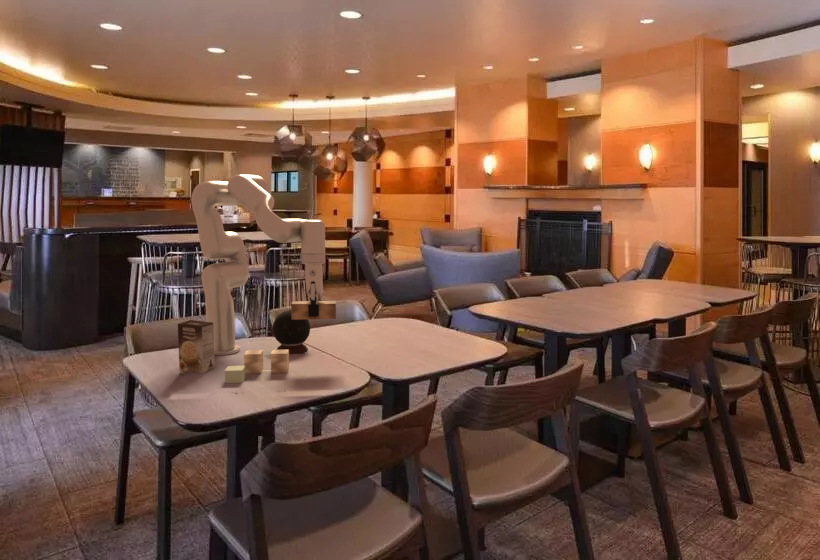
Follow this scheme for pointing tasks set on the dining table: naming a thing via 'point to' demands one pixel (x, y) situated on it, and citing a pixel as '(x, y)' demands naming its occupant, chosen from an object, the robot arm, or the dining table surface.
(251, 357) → the block
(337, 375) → the dining table surface
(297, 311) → the plank
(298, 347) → the black ball on stand
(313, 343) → the dining table surface
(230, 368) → the cube
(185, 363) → the coffee box
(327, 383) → the dining table surface
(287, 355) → the block
